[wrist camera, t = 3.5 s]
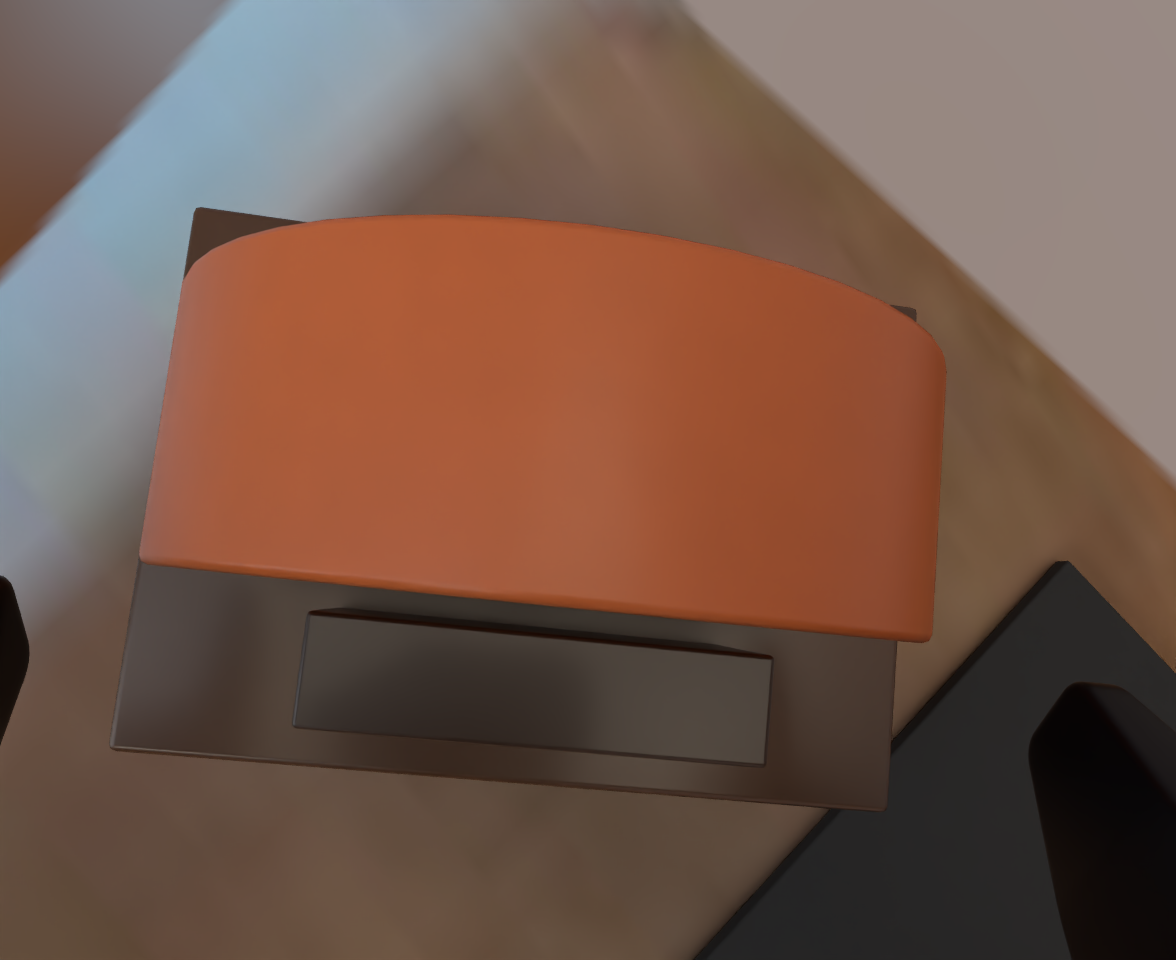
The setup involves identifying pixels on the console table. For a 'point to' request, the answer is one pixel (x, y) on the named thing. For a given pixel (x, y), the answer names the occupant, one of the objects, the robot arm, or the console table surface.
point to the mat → (955, 807)
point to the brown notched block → (496, 682)
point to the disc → (552, 425)
